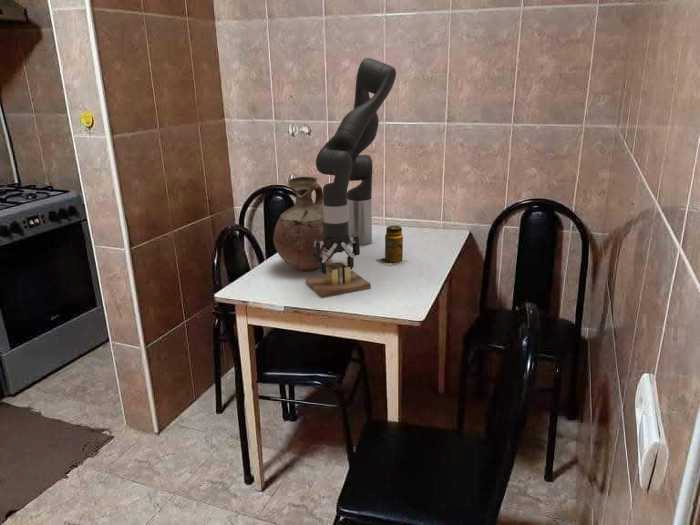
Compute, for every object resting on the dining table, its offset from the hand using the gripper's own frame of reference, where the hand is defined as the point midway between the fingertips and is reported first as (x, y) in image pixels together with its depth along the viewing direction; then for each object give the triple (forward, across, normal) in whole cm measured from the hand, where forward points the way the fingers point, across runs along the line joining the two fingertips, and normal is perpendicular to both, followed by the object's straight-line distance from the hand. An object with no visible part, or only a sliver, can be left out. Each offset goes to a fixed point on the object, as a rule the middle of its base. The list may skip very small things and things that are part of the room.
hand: (337, 271), depth 162 cm
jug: (+5, -2, +21) cm, 21 cm away
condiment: (+5, +26, +13) cm, 30 cm away
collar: (+3, 0, 0) cm, 3 cm away
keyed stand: (+5, 0, 0) cm, 5 cm away
